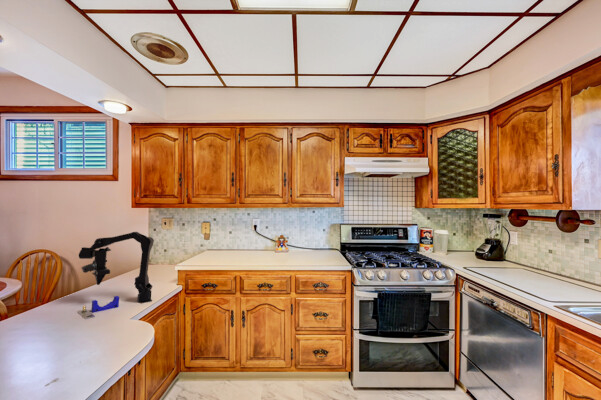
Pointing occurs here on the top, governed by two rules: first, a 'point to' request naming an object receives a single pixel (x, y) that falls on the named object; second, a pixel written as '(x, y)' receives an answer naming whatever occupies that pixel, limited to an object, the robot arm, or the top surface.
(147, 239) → the robot arm
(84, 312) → the steel strip
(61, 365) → the top surface
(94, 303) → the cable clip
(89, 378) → the top surface
